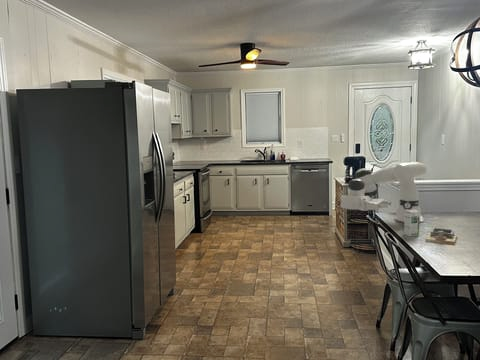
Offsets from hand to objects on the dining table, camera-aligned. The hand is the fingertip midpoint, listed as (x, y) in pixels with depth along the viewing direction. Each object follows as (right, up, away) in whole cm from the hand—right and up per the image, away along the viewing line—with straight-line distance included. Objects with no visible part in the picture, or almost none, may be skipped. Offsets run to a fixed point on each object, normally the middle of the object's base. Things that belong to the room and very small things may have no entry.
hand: (389, 204), depth 247 cm
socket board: (+24, -18, -14) cm, 33 cm away
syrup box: (+11, -17, -4) cm, 21 cm away
